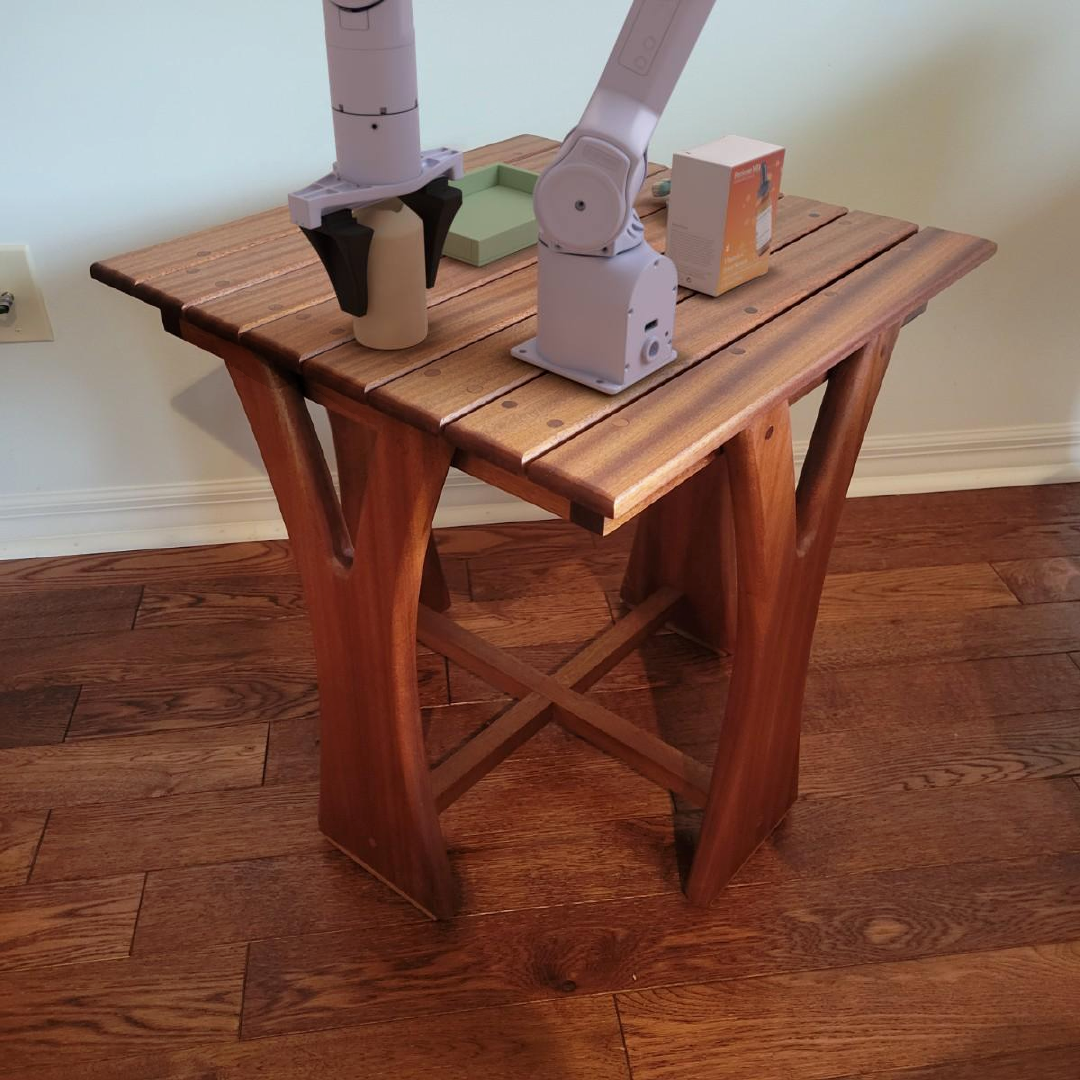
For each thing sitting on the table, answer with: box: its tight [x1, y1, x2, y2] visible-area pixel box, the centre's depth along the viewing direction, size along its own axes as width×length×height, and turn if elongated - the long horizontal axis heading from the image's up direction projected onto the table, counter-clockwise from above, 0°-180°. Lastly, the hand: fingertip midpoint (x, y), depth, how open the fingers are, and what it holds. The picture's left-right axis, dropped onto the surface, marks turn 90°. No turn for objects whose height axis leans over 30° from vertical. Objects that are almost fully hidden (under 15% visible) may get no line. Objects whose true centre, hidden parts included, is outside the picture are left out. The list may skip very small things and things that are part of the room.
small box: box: [663, 133, 786, 297], centre depth 89 cm, size 8×6×10 cm
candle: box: [351, 197, 429, 351], centre depth 79 cm, size 6×6×10 cm
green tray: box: [441, 161, 541, 268], centre depth 101 cm, size 14×18×2 cm
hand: (388, 298), depth 80 cm, fingers open, 6 cm apart
